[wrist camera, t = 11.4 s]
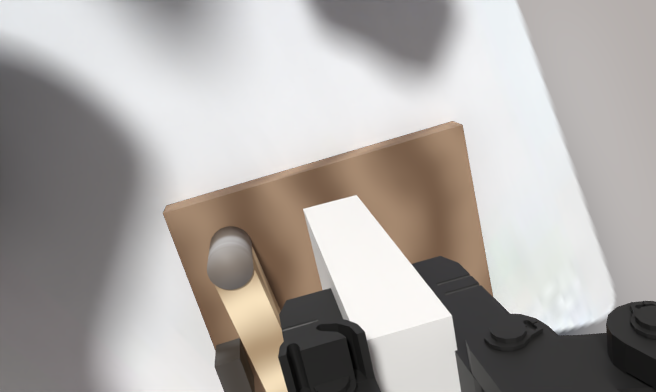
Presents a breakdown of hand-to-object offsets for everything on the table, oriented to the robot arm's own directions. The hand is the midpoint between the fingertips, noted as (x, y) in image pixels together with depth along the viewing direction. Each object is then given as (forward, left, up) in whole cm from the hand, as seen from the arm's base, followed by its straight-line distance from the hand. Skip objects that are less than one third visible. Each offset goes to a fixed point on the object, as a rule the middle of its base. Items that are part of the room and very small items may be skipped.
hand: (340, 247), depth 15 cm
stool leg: (-6, -15, -26) cm, 30 cm away
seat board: (+2, -15, -28) cm, 32 cm away
